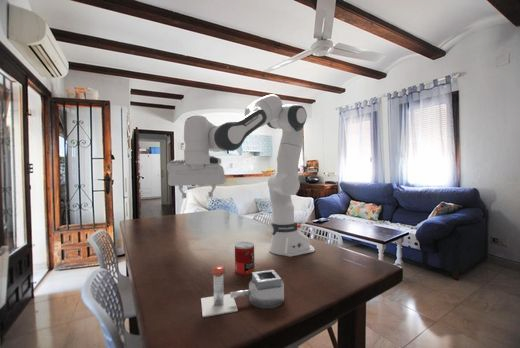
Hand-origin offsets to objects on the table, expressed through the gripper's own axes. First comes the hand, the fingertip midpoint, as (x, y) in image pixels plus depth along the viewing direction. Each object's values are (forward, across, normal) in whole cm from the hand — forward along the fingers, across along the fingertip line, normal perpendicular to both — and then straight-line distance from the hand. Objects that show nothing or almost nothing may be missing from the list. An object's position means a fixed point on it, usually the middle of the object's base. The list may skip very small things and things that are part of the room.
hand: (197, 197), depth 92 cm
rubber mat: (+31, +5, -19) cm, 37 cm away
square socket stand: (+31, +17, -20) cm, 41 cm away
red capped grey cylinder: (+31, +5, -19) cm, 36 cm away
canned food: (+31, +18, +3) cm, 36 cm away
